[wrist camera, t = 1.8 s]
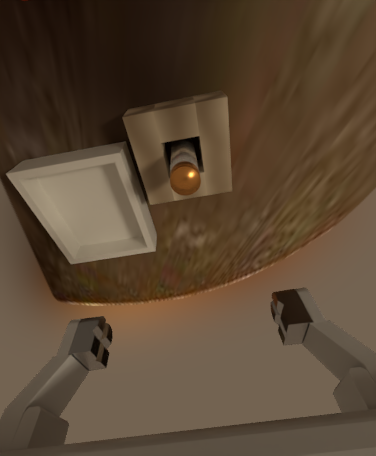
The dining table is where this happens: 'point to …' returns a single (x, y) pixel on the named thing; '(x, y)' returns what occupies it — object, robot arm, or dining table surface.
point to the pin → (184, 167)
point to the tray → (88, 202)
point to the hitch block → (175, 130)
